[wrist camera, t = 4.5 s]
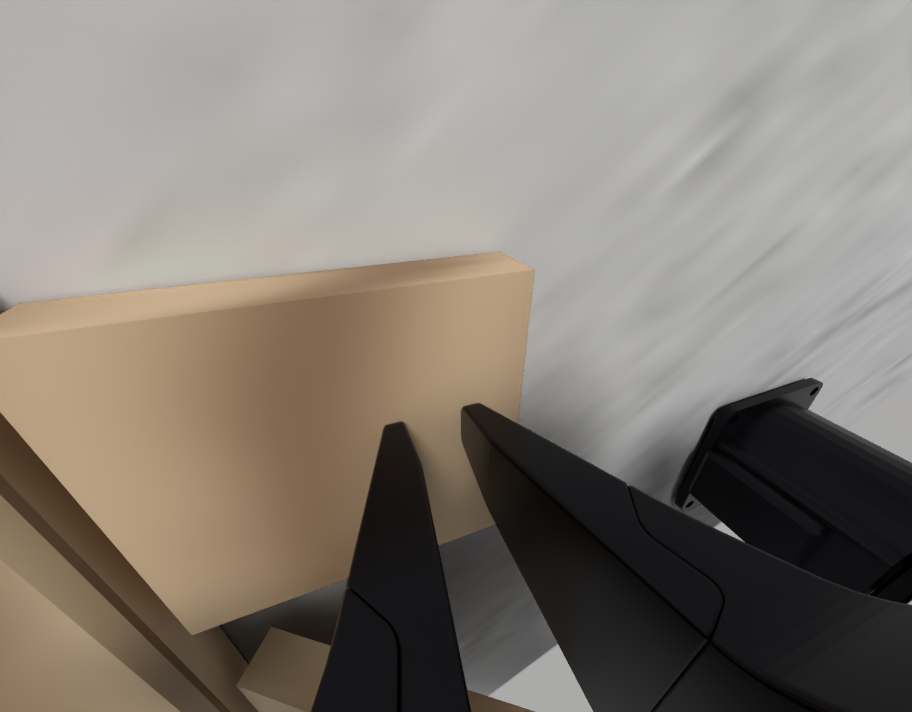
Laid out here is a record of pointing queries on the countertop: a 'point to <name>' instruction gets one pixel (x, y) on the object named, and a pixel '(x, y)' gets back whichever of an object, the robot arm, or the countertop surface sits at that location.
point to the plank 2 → (308, 676)
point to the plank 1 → (263, 414)
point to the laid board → (91, 613)
